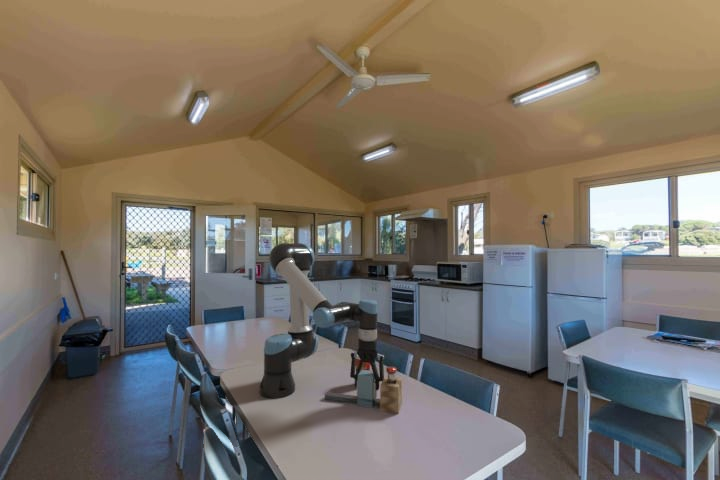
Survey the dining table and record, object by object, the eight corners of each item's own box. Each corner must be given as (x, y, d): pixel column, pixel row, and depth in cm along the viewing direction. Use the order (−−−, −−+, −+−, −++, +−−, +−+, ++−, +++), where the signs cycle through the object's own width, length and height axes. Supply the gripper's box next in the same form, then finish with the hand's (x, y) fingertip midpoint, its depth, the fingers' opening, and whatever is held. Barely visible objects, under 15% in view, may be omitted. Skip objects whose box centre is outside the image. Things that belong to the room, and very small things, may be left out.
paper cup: (351, 386, 153) (351, 355, 153) (359, 380, 160) (359, 350, 160) (366, 389, 149) (366, 357, 150) (374, 383, 156) (374, 353, 156)
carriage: (357, 405, 133) (357, 374, 134) (361, 399, 139) (361, 369, 139) (372, 407, 132) (372, 376, 132) (375, 400, 138) (375, 371, 138)
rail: (324, 399, 139) (324, 395, 139) (327, 396, 142) (327, 392, 142) (381, 407, 132) (381, 402, 132) (383, 404, 135) (383, 399, 135)
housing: (380, 411, 129) (380, 384, 130) (384, 401, 138) (385, 376, 138) (398, 413, 127) (398, 387, 128) (401, 403, 136) (401, 378, 136)
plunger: (385, 385, 132) (385, 369, 132) (387, 381, 135) (387, 366, 136) (395, 386, 131) (395, 370, 131) (397, 382, 134) (397, 367, 135)
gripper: (342, 339, 135) (341, 397, 134) (389, 343, 130) (388, 404, 129) (348, 334, 142) (347, 389, 142) (392, 338, 137) (391, 395, 137)
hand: (366, 396), depth 136 cm, fingers closed on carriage, 6 cm apart
